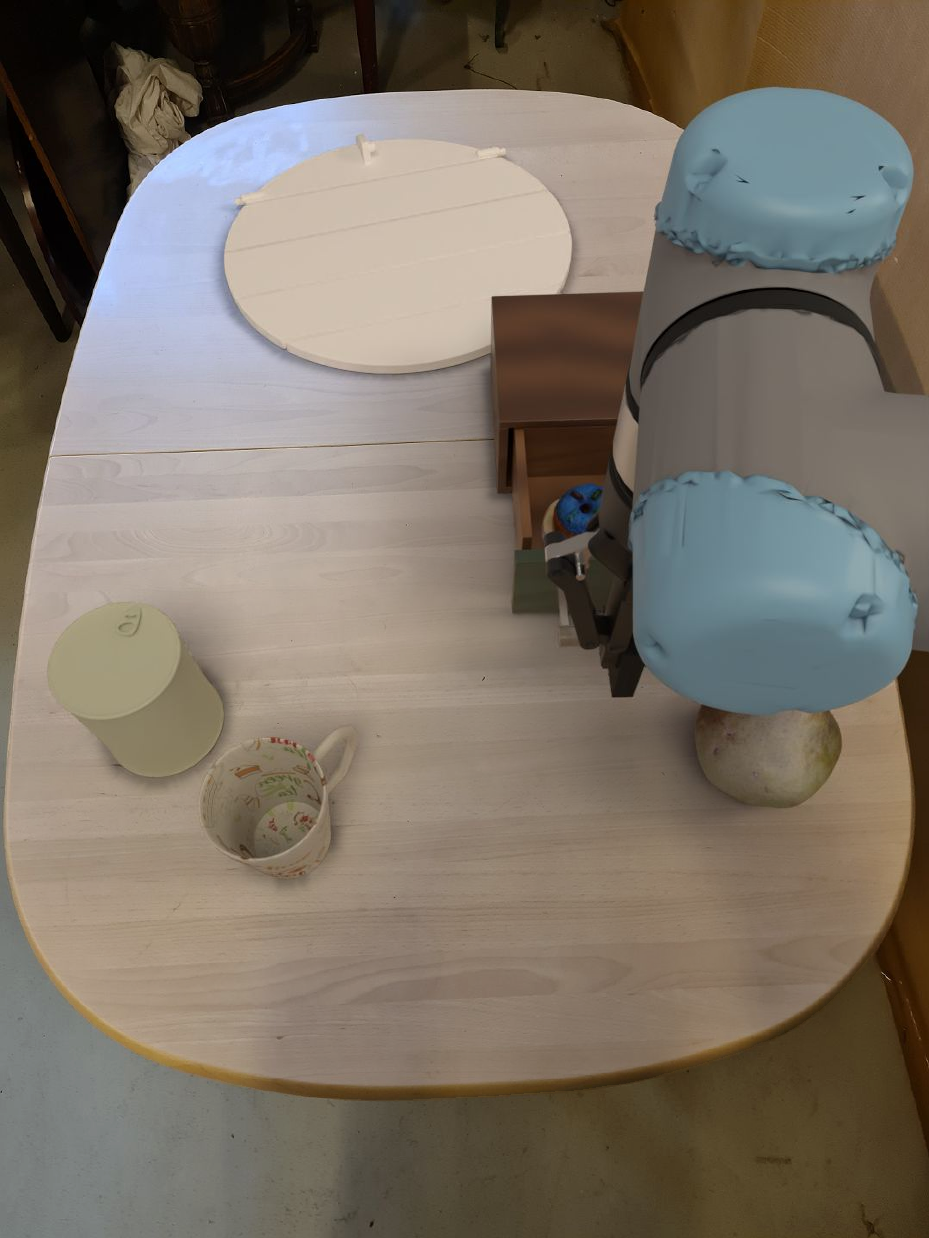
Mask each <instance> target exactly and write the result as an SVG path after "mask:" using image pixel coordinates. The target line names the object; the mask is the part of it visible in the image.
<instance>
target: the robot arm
mask: <svg viewBox="0 0 929 1238" xmlns="http://www.w3.org/2000/svg"><path fill="white" fill-rule="evenodd" d="M914 171H915V170H914V162H913V157H912V153H911V151H910V150H909V146H908V145H907V143H906V142H905V139H904V137H902V135H901V134H900V133H899V131H898V130H897V129H896V128H895V127H894V126H893V125H892V123H890V122H889V121H888V120H887V119H885V118H884V117H883V116H881V115H880V114H878V113H877V112H875V111H874V110H873V109H871V108H869V107H867V106H866V105H864V104H862V103H860V102H858V101H855V100H853V99H851V98H848V97H846V96H842V95H839V94H836V93H833V92H829V91H825V90H820V89H812V88H793V87H782V86H772V87H771V86H769V87H760V88H754V89H749V90H744V91H740V92H738V93H734V94H731V95H728V96H726V97H724V98H722V99H719V100H717V101H716V102H714V103H712V104H710V105H709V106H707V107H706V108H704V109H703V110H702V111H700V112H699V113H698V114H697V115H696V116H694V117H693V119H691V121H690V122H689V123H688V125H687V126H686V127H685V129H684V130H683V132H682V133H681V134H680V136H679V138H678V141H677V142H676V145H675V148H674V150H673V153H672V158H671V162H670V166H669V169H668V174H667V178H666V181H665V186H664V189H663V193H662V197H661V201H659V202H658V203H657V204H656V205H655V208H654V215H653V218H654V219H653V221H654V222H655V224H654V225H655V226H654V227H655V230H654V235H653V241H652V246H651V251H650V257H649V261H648V262H649V263H648V268H647V272H646V277H645V283H644V287H643V291H644V292H643V297H642V302H641V308H640V313H639V319H638V325H637V331H636V337H635V342H634V348H633V354H632V359H631V362H630V365H629V369H628V374H627V378H626V384H625V389H624V393H623V398H622V403H621V407H620V412H619V416H618V421H617V426H616V430H615V435H614V440H613V448H612V450H611V454H610V458H609V463H608V468H607V473H606V478H605V483H604V488H603V493H602V498H601V504H600V508H599V510H598V511H597V512H596V513H595V514H594V515H593V516H592V517H591V518H590V519H589V521H588V522H587V525H586V532H584V533H582V534H579V535H577V536H574V537H572V538H568V537H567V536H566V535H565V534H564V533H562V532H559V531H553V532H549V533H547V534H546V535H545V536H544V549H545V559H546V572H547V577H548V579H550V580H551V581H552V582H553V583H554V584H555V585H557V586H558V587H559V588H560V589H561V590H562V591H563V592H564V595H565V598H566V601H567V605H568V608H569V611H568V612H569V614H570V617H571V621H572V624H573V626H574V627H575V631H576V634H577V637H578V640H579V643H580V646H579V647H580V648H581V649H583V650H588V651H589V650H595V649H597V648H598V655H599V661H600V666H601V668H602V670H607V672H608V680H609V688H610V696H611V697H610V698H612V699H615V698H619V699H621V698H634V695H635V693H636V690H637V688H638V685H639V682H640V680H641V677H642V675H643V672H644V669H645V668H647V670H648V671H649V672H650V673H651V675H653V676H654V677H655V678H656V679H657V680H658V681H659V682H660V683H662V684H663V685H664V686H665V687H666V688H668V689H670V690H671V691H673V692H674V693H676V694H678V695H680V696H682V697H684V698H685V699H688V700H690V701H693V702H695V703H697V704H700V705H705V706H709V707H713V708H717V709H721V710H725V711H730V712H735V713H742V714H750V715H764V716H770V715H773V714H775V713H778V712H780V711H788V710H797V711H802V712H806V713H817V712H824V711H828V710H830V711H832V710H836V709H840V708H844V707H847V706H850V705H853V704H856V703H860V702H861V701H864V700H865V699H868V698H870V697H871V696H873V695H875V694H878V693H879V692H881V691H882V690H883V689H885V688H886V687H888V686H889V685H890V684H891V683H893V682H894V681H895V680H897V678H898V676H899V675H900V674H901V673H902V671H903V670H904V669H905V667H906V665H907V663H908V661H909V659H910V656H911V653H912V650H913V651H920V652H928V653H929V395H925V394H912V393H910V394H909V393H898V392H891V391H886V390H885V387H884V385H883V382H882V379H881V370H880V365H879V357H878V350H877V344H876V341H875V340H876V339H875V331H874V325H873V317H872V308H871V291H872V287H873V282H874V279H875V277H876V274H877V271H878V270H879V267H880V266H881V263H882V262H883V260H885V259H887V258H888V257H890V255H891V253H892V251H893V250H894V249H895V248H894V247H895V246H896V244H897V236H896V234H897V231H898V230H899V229H898V228H899V226H900V223H901V221H902V217H903V214H904V211H905V209H906V206H907V202H908V201H909V198H910V196H911V192H912V189H913V181H914V173H915V172H914ZM592 556H594V557H595V558H596V559H597V560H598V561H599V562H601V563H602V564H603V565H604V566H605V567H606V568H607V569H609V570H610V571H611V572H612V573H613V574H614V579H613V582H612V586H611V590H610V594H609V598H608V602H607V606H606V607H605V606H604V605H603V610H602V611H603V614H597V610H596V608H595V605H594V601H593V597H592V593H591V589H590V585H589V581H588V577H587V573H586V570H587V569H588V568H589V567H590V558H591V557H592Z"/></svg>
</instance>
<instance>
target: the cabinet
mask: <svg viewBox="0 0 929 1238" xmlns="http://www.w3.org/2000/svg"><path fill="white" fill-rule="evenodd" d="M643 292H644V290H642V291H613V292H612V291H610V292H583V293H582V292H581V293H580V292H579V293H560V294H546V295H514V296H492V297H491V353H490V360H489V361H490V364H489V365H490V366H489V367H490V368H489V371H490V373H489V375H490V390H491V406H492V407H491V409H492V426H493V441H494V443H493V444H494V457H495V458H494V460H495V477H496V493H497V494H512V482H511V470H512V450H513V429H514V428H526V427H557V426H589V425H617V421H618V416H619V412H620V407H621V403H622V398H623V393H624V389H625V384H626V378H627V374H628V369H629V365H630V362H631V359H632V354H633V348H634V342H635V337H636V331H637V325H638V319H639V313H640V308H641V302H642V297H643Z"/></svg>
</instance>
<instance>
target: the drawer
mask: <svg viewBox="0 0 929 1238" xmlns="http://www.w3.org/2000/svg"><path fill="white" fill-rule="evenodd" d="M616 426H617V425H589V426H557V427H526V428H514V429H513V450H512V470H511V482H512V493H511V495H512V509H513V522H514V524H513V525H514V537H515V538H514V539H515V550H514V552H513V553H514V554H513V568H512V569H513V570H512V586H511V588H512V589H511V600H510V603H511V613H512V614H527V613H529V614H530V613H552V612H553V613H557V612H558V614H559V615H558V616H559V625H560V626H558V629H557V639H558V646H559V647H560V648H572V647H573V648H574V647H580V643H579V640H578V637H577V634H576V631H575V627H574V625H570V621H569V612H570V611H569V608H568V605H567V601H566V598H565V595H564V592H563V591H562V590H561V589H560V588H559V587H558V586H557V585H555V584H554V583H553V582H552V581H551V580H550V579H548V577H547V572H546V559H545V549H544V543H543V541H542V539H541V524H542V520H543V517H544V514H545V512H546V510H547V509H548V507H549V506H550V505H551V504H552V503H553V502H554V501H556V500H558V499H560V498H561V497H562V496H563V495H564V493H566V491H568V490H569V489H572V488H573V487H576V486H580V485H585V484H595V486H598V485H599V486H602V487H604V483H605V478H606V473H607V468H608V463H609V458H610V454H611V450H612V448H613V440H614V435H615V430H616ZM586 573H587V577H588V581H589V585H590V589H591V593H592V597H593V601H594V605H595V608H596V611H603V605H604V606H605V607H606V606H607V602H608V598H609V594H610V590H611V586H612V582H613V579H614V574H613V573H612V572H611V571H610V570H609V569H607V568H606V567H605V566H604V565H603V564H602V563H601V562H599V561H598V560H597V559H596V558H595V557H594V556H592V557H591V558H590V567H589V568H588V569H587V570H586Z"/></svg>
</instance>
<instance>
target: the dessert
mask: <svg viewBox="0 0 929 1238" xmlns="http://www.w3.org/2000/svg"><path fill="white" fill-rule="evenodd" d="M603 488H604V487H602V486H599V485H598V486H595V484H585V485H580V486H576V487H573V488H572V489H569V490H568V491H566V493H564V495H563V496H562V497H561V498H560V499H558V500H556V501H554V502H553V503H552V504H551V505H550V506H549V507H548V509H547V510H546V512H545V514H544V517H543V520H542V524H541V539H542V541H543V543H544V536H545V535H546V534H547V533H549V532H553V531H559V532H562V533H564V534H565V535H566V536H567V537H568V538H572V537H574V536H577V535H579V534H582V533H584V532H586V525H587V522H588V521H589V519H590V518H591V517H592V516H593V515H594V514H595V513H596V512H597V511H598V510H599V508H600V504H601V498H602V493H603Z"/></svg>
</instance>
